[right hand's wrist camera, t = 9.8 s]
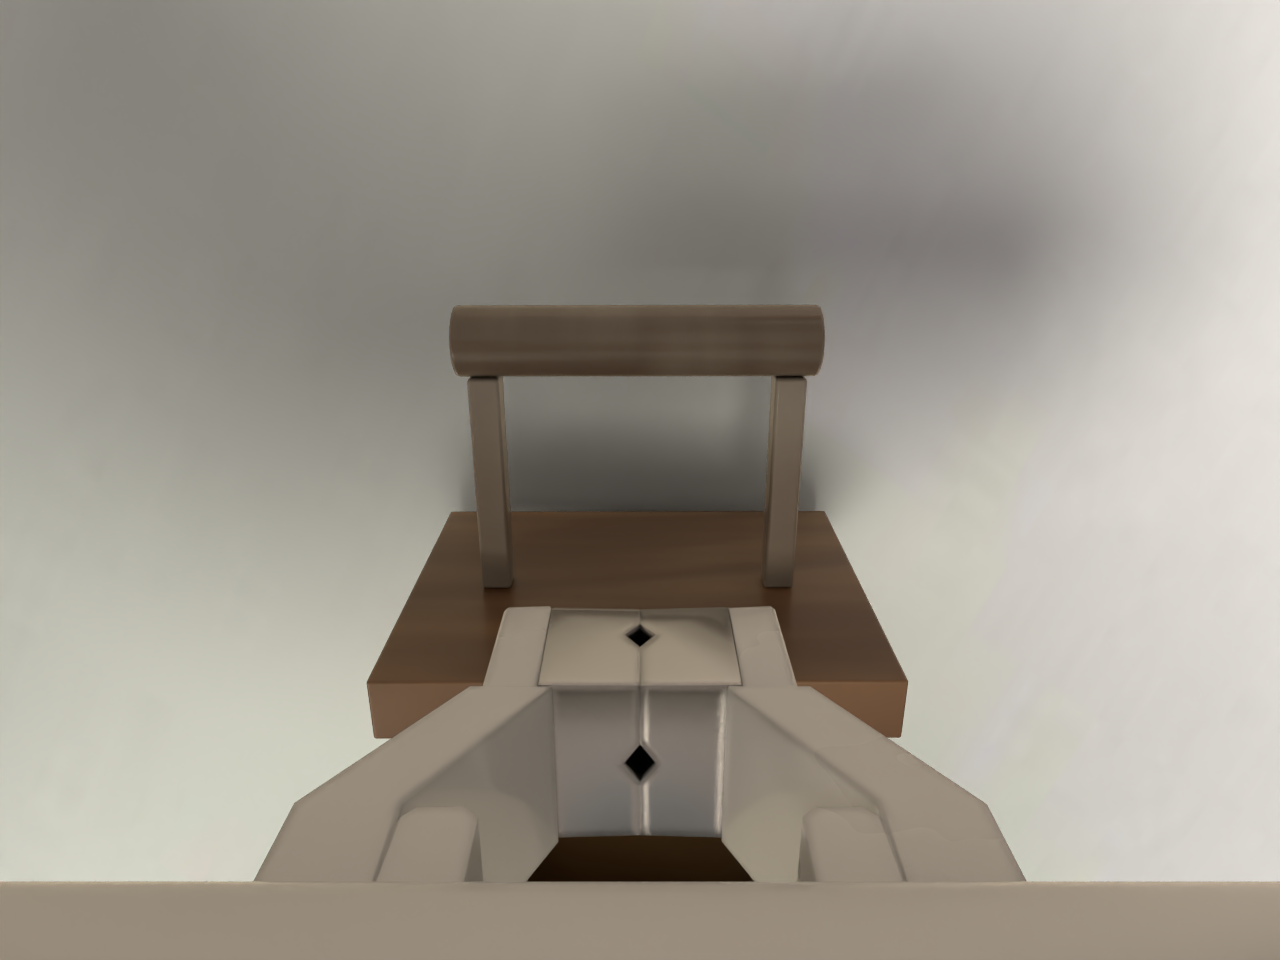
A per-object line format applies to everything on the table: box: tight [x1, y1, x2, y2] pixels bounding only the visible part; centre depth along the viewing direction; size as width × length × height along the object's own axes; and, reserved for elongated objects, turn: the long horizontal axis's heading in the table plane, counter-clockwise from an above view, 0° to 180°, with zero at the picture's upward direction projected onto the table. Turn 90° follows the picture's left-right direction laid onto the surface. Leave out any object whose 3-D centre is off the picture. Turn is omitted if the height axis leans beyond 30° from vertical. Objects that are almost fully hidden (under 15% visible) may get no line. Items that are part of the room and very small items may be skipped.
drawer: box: [367, 305, 908, 882], centre depth 21 cm, size 26×9×7 cm, turn 0°
